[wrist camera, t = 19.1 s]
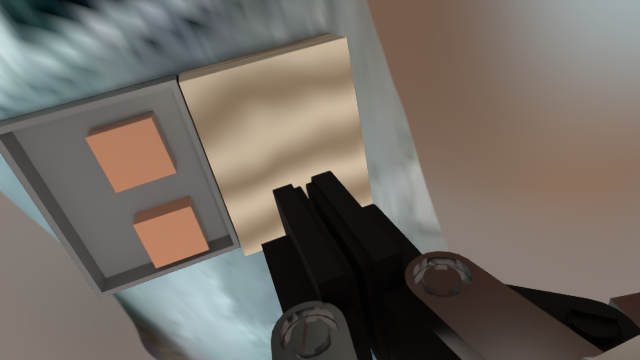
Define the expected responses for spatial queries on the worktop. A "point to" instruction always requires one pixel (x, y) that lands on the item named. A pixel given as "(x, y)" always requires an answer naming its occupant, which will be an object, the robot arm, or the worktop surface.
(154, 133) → the tile
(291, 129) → the bench plate
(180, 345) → the worktop surface
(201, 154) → the box
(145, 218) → the tile
